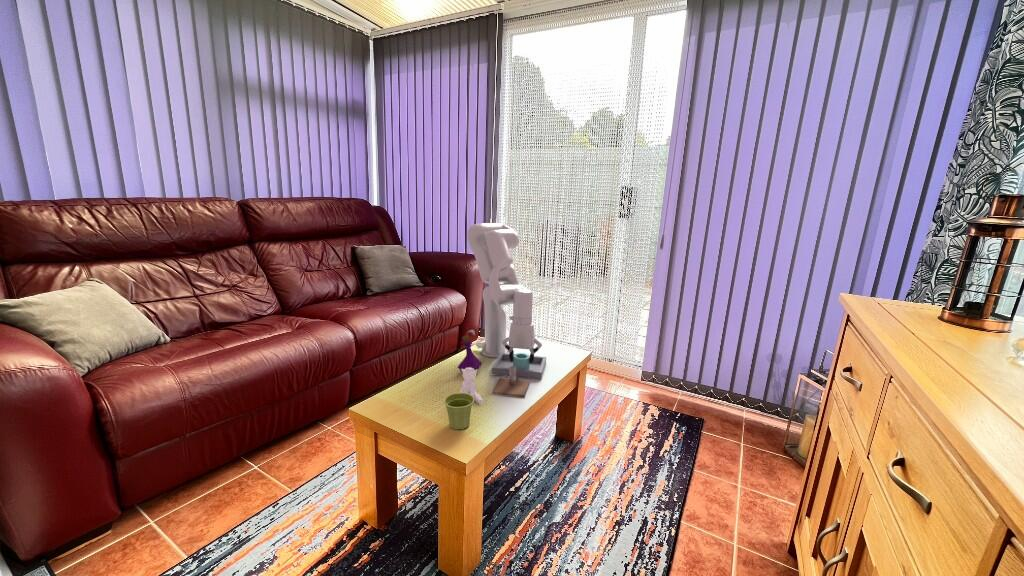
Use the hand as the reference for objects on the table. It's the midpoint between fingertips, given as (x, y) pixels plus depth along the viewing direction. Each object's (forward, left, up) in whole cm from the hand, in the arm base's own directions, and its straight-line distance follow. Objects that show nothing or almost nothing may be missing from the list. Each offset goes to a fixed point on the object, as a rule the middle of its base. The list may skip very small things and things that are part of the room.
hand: (521, 361), depth 169 cm
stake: (-1, -16, -4) cm, 17 cm away
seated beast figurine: (-14, -28, -5) cm, 32 cm away
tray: (-1, +2, -4) cm, 5 cm away
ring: (0, 0, -4) cm, 4 cm away
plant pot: (-12, -44, -5) cm, 46 cm away
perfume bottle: (-20, -6, -5) cm, 21 cm away
